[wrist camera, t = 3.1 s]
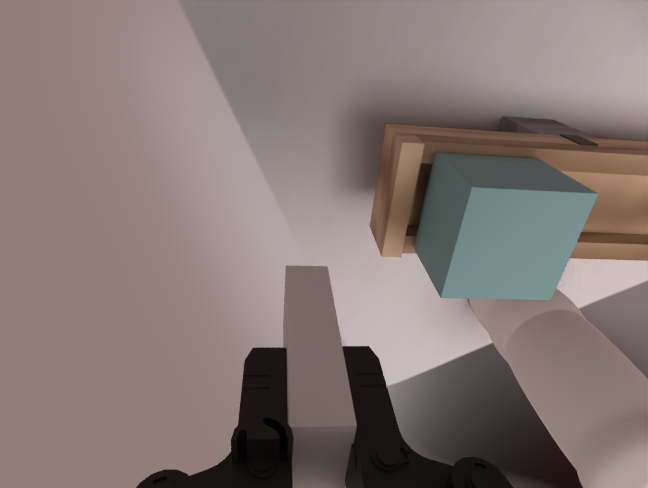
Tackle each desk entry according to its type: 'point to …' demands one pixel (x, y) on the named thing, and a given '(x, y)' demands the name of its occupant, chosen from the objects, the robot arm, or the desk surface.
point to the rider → (499, 226)
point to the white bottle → (575, 386)
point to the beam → (525, 142)
